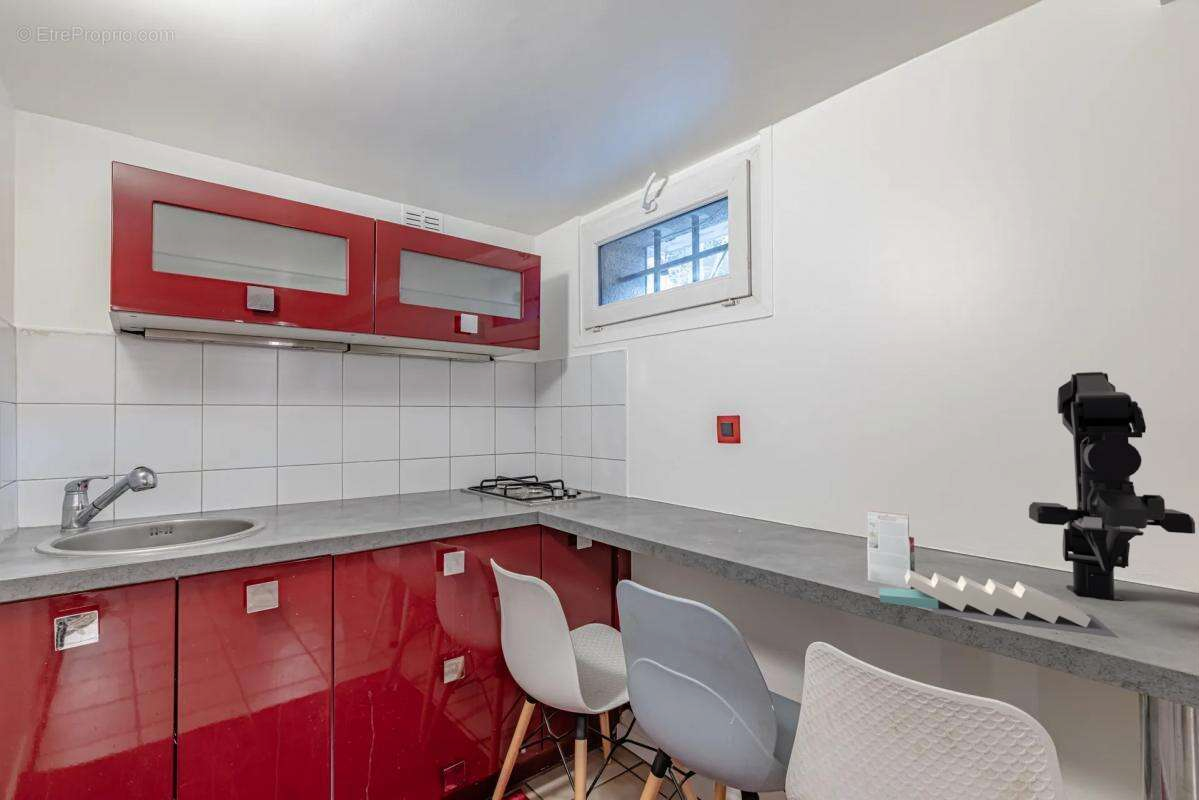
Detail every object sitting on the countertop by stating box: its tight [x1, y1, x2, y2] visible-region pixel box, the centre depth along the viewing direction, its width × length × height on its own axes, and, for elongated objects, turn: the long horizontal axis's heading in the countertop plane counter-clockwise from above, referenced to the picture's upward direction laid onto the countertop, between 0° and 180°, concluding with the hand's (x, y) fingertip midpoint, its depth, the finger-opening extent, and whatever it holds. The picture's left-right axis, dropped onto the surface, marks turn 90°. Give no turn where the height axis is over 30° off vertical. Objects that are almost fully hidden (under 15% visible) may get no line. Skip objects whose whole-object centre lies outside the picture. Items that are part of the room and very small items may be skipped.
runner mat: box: [931, 600, 1120, 639], centre depth 92 cm, size 10×24×1 cm, turn 65°
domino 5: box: [984, 578, 1059, 624], centre depth 92 cm, size 2×5×9 cm
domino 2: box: [905, 569, 966, 611], centre depth 97 cm, size 2×5×9 cm
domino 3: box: [930, 572, 996, 616], centre depth 95 cm, size 2×5×9 cm
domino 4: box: [957, 574, 1027, 620], centre depth 93 cm, size 2×5×9 cm
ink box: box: [866, 510, 916, 590], centre depth 109 cm, size 4×8×15 cm, turn 47°
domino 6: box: [1012, 580, 1091, 627], centre depth 90 cm, size 2×5×9 cm
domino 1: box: [878, 587, 939, 610], centre depth 99 cm, size 2×5×9 cm
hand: (1107, 571), depth 87 cm, fingers closed
